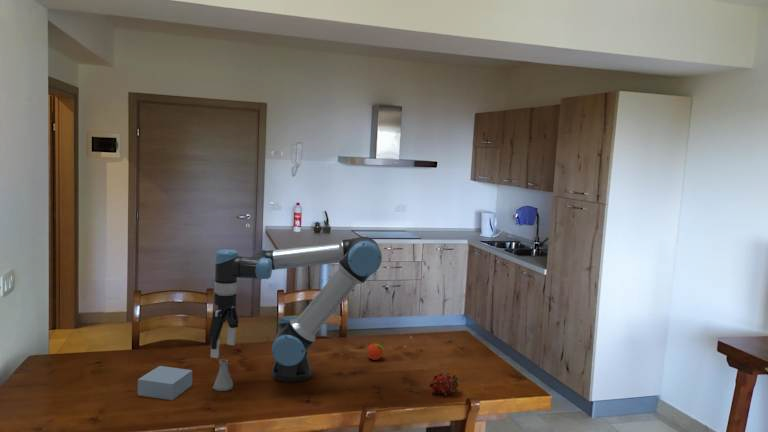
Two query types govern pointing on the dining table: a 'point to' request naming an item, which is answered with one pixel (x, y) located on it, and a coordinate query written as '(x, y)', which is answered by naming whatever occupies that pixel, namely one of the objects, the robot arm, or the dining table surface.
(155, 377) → the grey block
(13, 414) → the dining table surface
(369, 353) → the clementine
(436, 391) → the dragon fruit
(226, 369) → the flask
